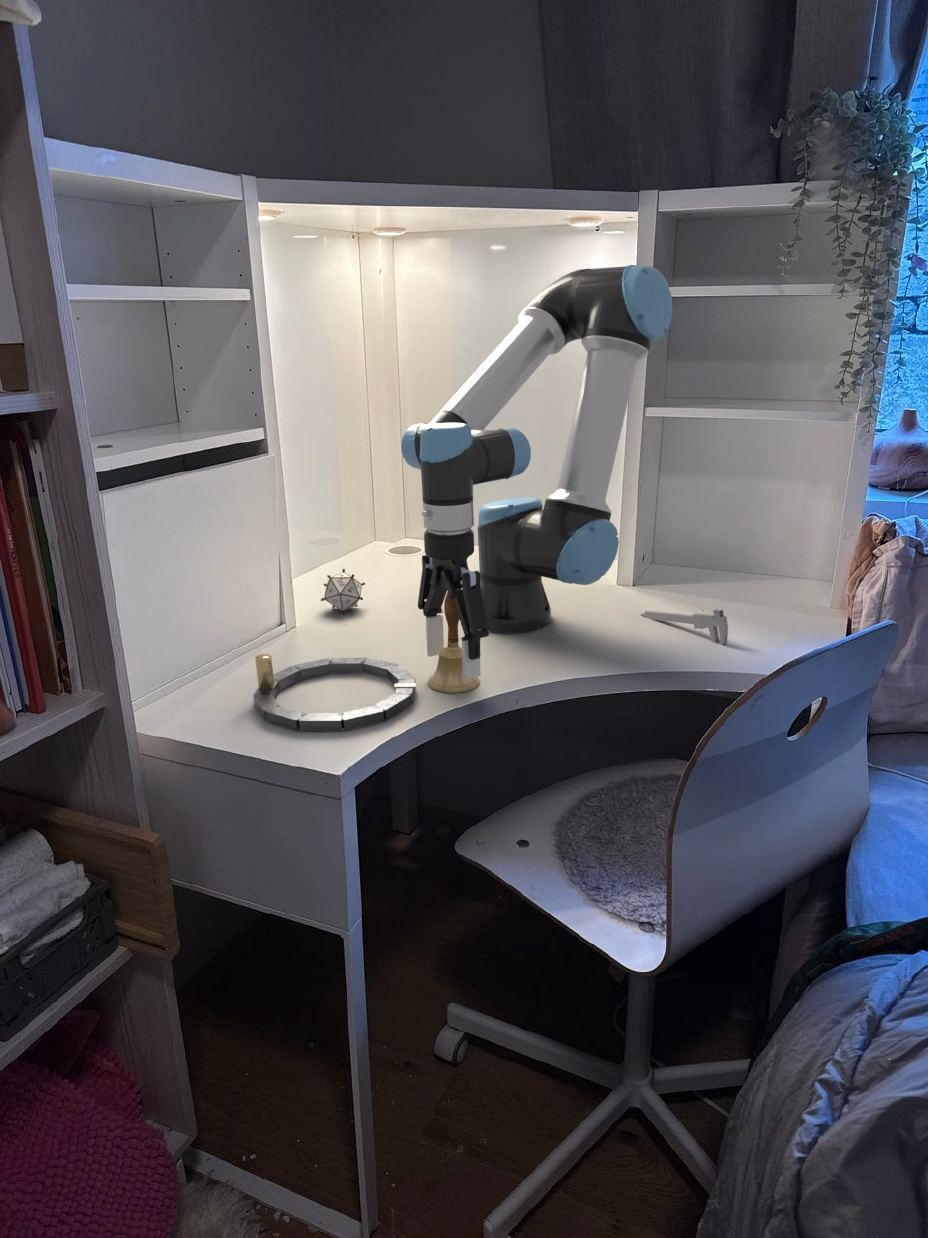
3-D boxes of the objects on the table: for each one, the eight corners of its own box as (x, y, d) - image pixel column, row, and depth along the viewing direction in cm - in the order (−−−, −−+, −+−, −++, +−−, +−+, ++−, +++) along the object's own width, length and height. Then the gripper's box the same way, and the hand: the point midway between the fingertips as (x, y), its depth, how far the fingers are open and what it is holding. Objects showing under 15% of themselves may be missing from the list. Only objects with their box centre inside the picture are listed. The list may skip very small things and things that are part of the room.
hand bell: (478, 672, 145) (476, 578, 140) (481, 692, 137) (479, 594, 132) (427, 674, 145) (423, 580, 140) (427, 694, 137) (423, 596, 132)
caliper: (727, 645, 154) (729, 611, 152) (722, 647, 153) (725, 612, 151) (644, 615, 170) (645, 584, 168) (639, 616, 170) (641, 585, 168)
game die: (355, 628, 178) (377, 594, 173) (317, 621, 173) (338, 586, 168) (347, 596, 184) (368, 562, 178) (309, 589, 179) (330, 554, 174)
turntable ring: (278, 667, 149) (274, 630, 146) (423, 666, 147) (421, 628, 145) (237, 731, 126) (232, 688, 124) (407, 730, 125) (405, 687, 122)
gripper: (392, 518, 141) (399, 648, 148) (466, 548, 122) (470, 695, 129) (433, 512, 144) (438, 639, 151) (512, 540, 125) (513, 684, 132)
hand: (453, 665), depth 140 cm, fingers open, 11 cm apart
